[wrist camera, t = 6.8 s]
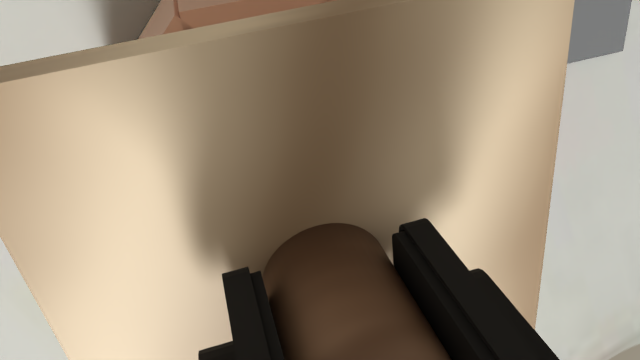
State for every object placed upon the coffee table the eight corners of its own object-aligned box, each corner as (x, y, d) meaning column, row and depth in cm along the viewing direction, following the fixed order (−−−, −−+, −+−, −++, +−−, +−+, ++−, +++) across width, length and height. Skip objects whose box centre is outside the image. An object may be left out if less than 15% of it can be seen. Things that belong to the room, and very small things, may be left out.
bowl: (372, -55, 19) (433, -36, 15) (389, 183, 24) (437, 247, 20) (82, -3, 17) (57, 35, 13) (167, 239, 22) (168, 322, 18)
